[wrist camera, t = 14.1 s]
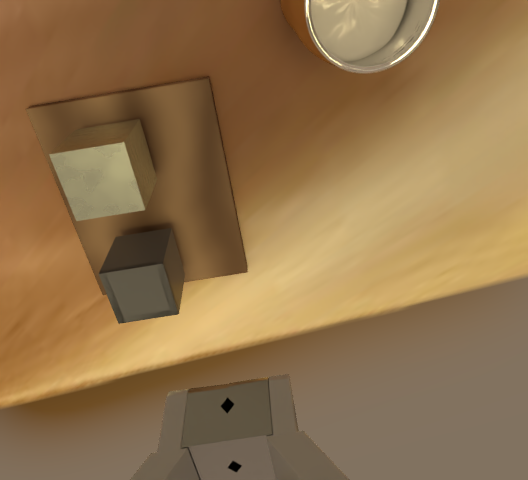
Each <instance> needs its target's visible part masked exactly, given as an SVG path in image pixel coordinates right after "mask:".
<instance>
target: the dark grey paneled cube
mask: <svg viewBox="0 0 528 480" xmlns="http://www.w3.org/2000/svg"><path fill="white" fill-rule="evenodd" d="M99 277H100V279H101V281H102V284H103V286H104V289H105V291H106V294H107V296H108V299H109V301H110V303H111V306H112V308H113V311H114V313H115V316H116V318H117V321H118V323H119V324H120V323H126V322H132V321H139V320H145V319H151V318H158V317H164V316H171V315H177V314H179V309H180V303H181V297H182V291H183V284H184V278H185V272H184V269H183V265H182V262H181V258H180V255H179V252H178V248H177V245H176V241H175V238H174V234H173V231H172V228H168V229H162V230H155V231H149V232H143V233H137V234H130V235H124V236H118V237H115V239H114V241H113V244H112V246H111V248H110V250H109V252H108V254H107V257H106V259H105V261H104V263H103V265H102V267H101V270H100V272H99Z"/></svg>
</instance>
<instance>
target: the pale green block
mask: <svg viewBox="0 0 528 480" xmlns="http://www.w3.org/2000/svg"><path fill="white" fill-rule="evenodd" d="M49 156H50V158H51V161H52V163H53V165H54V168H55V170H56V173H57V175H58V178H59V180H60V183H61V185H62V187H63V190H64V192H65V195H66V197H67V200H68V202H69V205H70V207H71V209H72V212H73V214H74V217H75V219H76V221H81V220H87V219H93V218H99V217H106V216H112V215H118V214H124V213H130V212H136V211H143V210H146V207H147V204H148V202H149V199H150V197H151V194H152V191H153V189H154V186H155V184H156V181H157V177H156V173H155V170H154V167H153V163H152V160H151V156H150V153H149V149H148V146H147V142H146V139H145V135H144V132H143V129H142V125H141V122H140V119H137V120H131V121H125V122H119V123H113V124H107V125H101V126H95V127H89V128H83V129H77V130H75V131H74V132H73V133H72V134H71V135H69V136H68V137H67V138H66V139H65V140H64V141H63V142H62V143H61V144H60V145H59V146H58V147H57V148H55V149H54V150H53V151H52V152H51V153H50V154H49Z"/></svg>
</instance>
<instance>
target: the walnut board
mask: <svg viewBox="0 0 528 480" xmlns="http://www.w3.org/2000/svg"><path fill="white" fill-rule="evenodd" d="M26 111H27V114H28V116H29V118H30V121H31V123H32V126H33V128H34V130H35V133H36V135H37V138H38V140H39V142H40V145H41V147H42V150H43V152H44V154H45V157H46V159H47V162H48V164H49V167H50V169H51V171H52V174H53V176H54V179H55V181H56V183H57V186H58V188H59V191H60V193H61V195H62V198H63V200H64V203H65V205H66V207H67V210H68V212H69V215H70V217H71V220H72V222H73V224H74V227H75V229H76V232H77V234H78V236H79V239H80V241H81V244H82V246H83V248H84V251H85V253H86V256H87V258H88V260H89V263H90V265H91V268H92V270H93V272H94V275H95V277H96V280H97V282H98V285H99V287H100V289H101V292H102V294H103V295H107V294H106V291H105V289H104V286H103V284H102V281H101V279H100V277H99V272H100V270H101V267H102V265H103V263H104V261H105V259H106V257H107V254H108V252H109V250H110V248H111V246H112V244H113V241H114V239H115V237H118V236H124V235H130V234H137V233H143V232H149V231H155V230H162V229H168V228H172V231H173V234H174V238H175V241H176V245H177V248H178V252H179V255H180V258H181V262H182V265H183V269H184V272H185V278H184V282H189V281H195V280H201V279H208V278H214V277H220V276H227V275H233V274H239V273H246V272H248V271H247V263H246V258H245V253H244V248H243V243H242V238H241V233H240V228H239V223H238V218H237V213H236V208H235V203H234V198H233V193H232V188H231V183H230V178H229V173H228V168H227V163H226V158H225V153H224V148H223V143H222V138H221V133H220V128H219V123H218V118H217V113H216V108H215V103H214V98H213V93H212V88H211V83H210V78H209V77H203V78H197V79H191V80H185V81H179V82H173V83H167V84H161V85H155V86H149V87H143V88H137V89H131V90H125V91H119V92H113V93H107V94H101V95H95V96H89V97H83V98H77V99H71V100H65V101H59V102H54V103H48V104H42V105H36V106H30V107H29V108H27V109H26ZM137 119H140V122H141V125H142V129H143V132H144V135H145V139H146V142H147V146H148V149H149V153H150V156H151V160H152V163H153V167H154V170H155V173H156V177H157V181H156V184H155V186H154V189H153V191H152V194H151V197H150V199H149V202H148V204H147V207H146V210H143V211H136V212H130V213H124V214H118V215H112V216H106V217H99V218H93V219H87V220H81V221H76V219H75V217H74V214H73V212H72V209H71V207H70V205H69V202H68V200H67V197H66V195H65V192H64V190H63V187H62V185H61V183H60V180H59V178H58V175H57V173H56V170H55V168H54V165H53V163H52V161H51V158H50V156H49V154H50V153H51V152H52V151H53V150H54V149H55V148H57V147H58V146H59V145H60V144H61V143H62V142H63V141H64V140H65V139H66V138H67V137H68V136H69V135H71V134H72V133H73V132H74V131H75V130H77V129H83V128H89V127H95V126H101V125H107V124H113V123H119V122H125V121H131V120H137Z"/></svg>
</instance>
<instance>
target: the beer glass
mask: <svg viewBox="0 0 528 480" xmlns="http://www.w3.org/2000/svg"><path fill="white" fill-rule="evenodd" d="M439 2H440V0H280V4H281V9H282V12H283V15H284V17H285V19H286V21H287V22H288V24H289V25H290V26H291V27H292V28H293V29H294V30H295V32H296V34H297V36H298V37H299V39H300V40H301V42H302V43H303V44H304V45H305V46H306V48H307V49H308V50H309V51H310V52H311V53H313V54H314V55H315V56H317V57H318V58H320V59H321V60H323V61H325V62H327V63H329V64H331V65H334V66H336V67H339V68H341V69H343V70H346V71H349V72H353V73H375V72H379V71H383V70H386V69H388V68H391V67H393V66H395V65H397V64H398V63H400V62H401V61H403V60H404V59H406V58H407V57H408V56H409V55H410V54H412V53H413V52H414V51H415V50H416V48H417V47H418V46H419V45H420V44H421V43H422V41H423V40H424V38H425V37H426V35H427V34H428V32H429V30H430V28H431V26H432V24H433V22H434V19H435V17H436V14H437V10H438V7H439Z"/></svg>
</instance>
